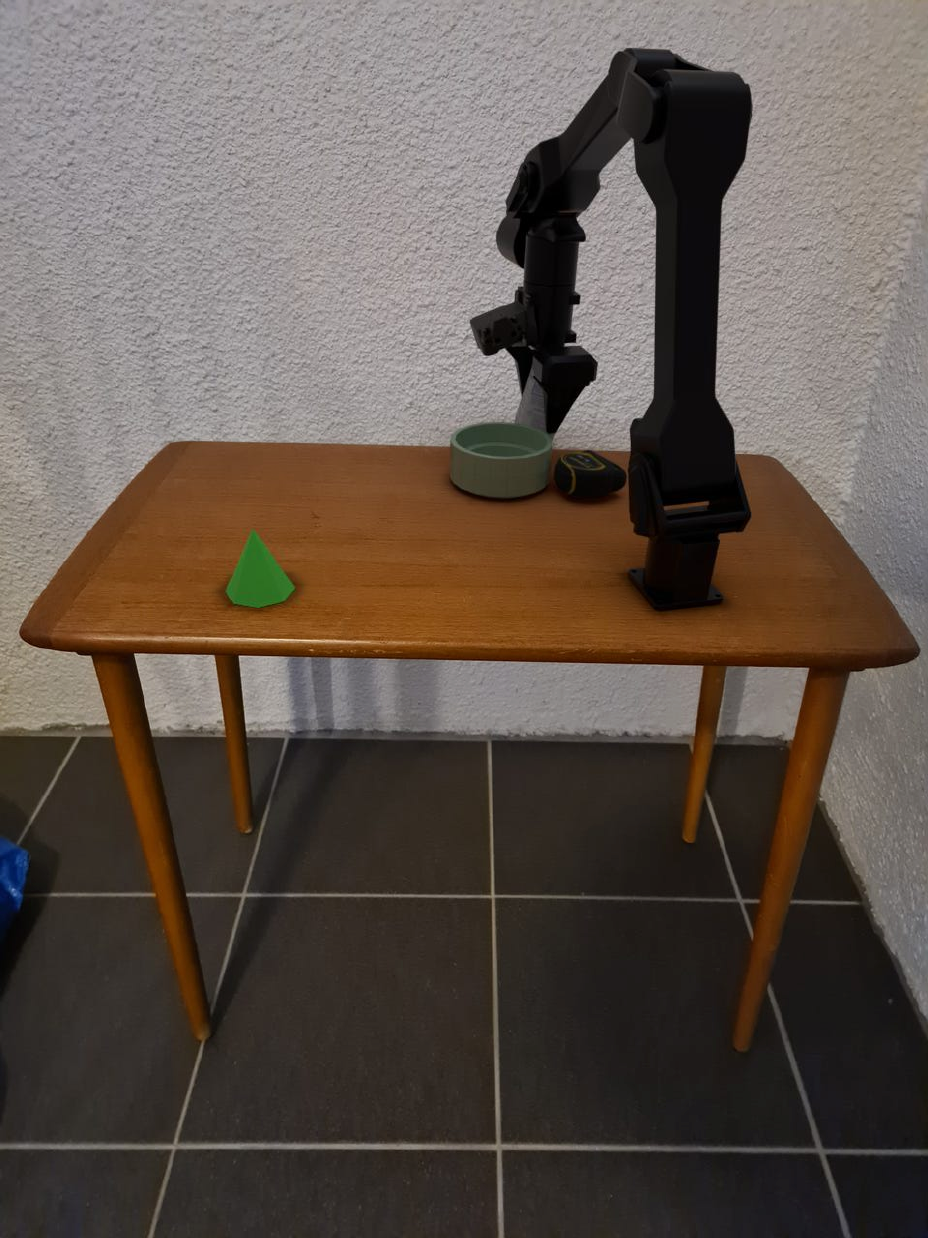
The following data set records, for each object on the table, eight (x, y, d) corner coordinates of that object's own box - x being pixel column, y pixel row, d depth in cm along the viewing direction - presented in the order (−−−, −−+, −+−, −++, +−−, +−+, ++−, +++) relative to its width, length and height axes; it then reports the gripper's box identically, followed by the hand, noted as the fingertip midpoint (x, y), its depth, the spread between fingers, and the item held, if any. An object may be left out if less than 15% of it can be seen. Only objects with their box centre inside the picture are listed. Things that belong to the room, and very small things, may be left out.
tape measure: (627, 498, 90) (631, 466, 88) (575, 509, 88) (579, 476, 86) (590, 475, 95) (594, 444, 93) (540, 485, 93) (543, 454, 91)
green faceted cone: (228, 574, 74) (219, 513, 71) (296, 571, 75) (290, 511, 72) (221, 609, 69) (211, 546, 66) (294, 606, 70) (287, 543, 67)
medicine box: (551, 445, 96) (577, 371, 93) (515, 433, 96) (540, 359, 92) (546, 433, 103) (570, 364, 100) (512, 422, 103) (535, 353, 100)
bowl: (562, 498, 90) (567, 454, 87) (462, 506, 88) (464, 461, 85) (531, 459, 99) (534, 419, 96) (440, 466, 97) (440, 424, 94)
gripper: (458, 264, 96) (456, 396, 105) (501, 303, 81) (493, 453, 90) (549, 262, 98) (539, 391, 107) (607, 300, 83) (590, 446, 92)
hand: (538, 418), depth 99 cm, fingers open, 9 cm apart
